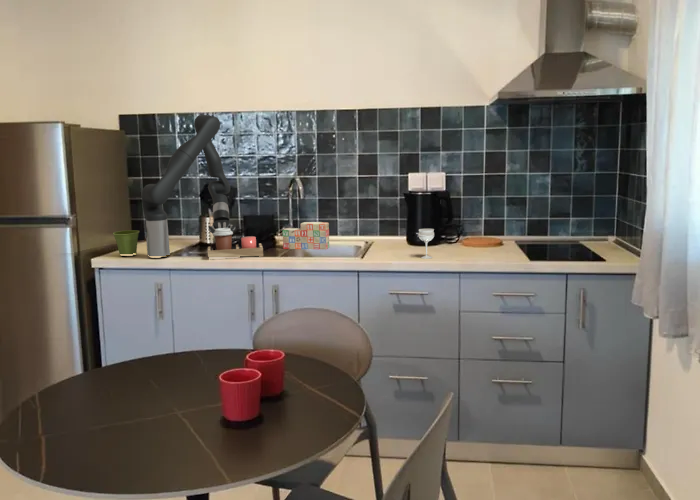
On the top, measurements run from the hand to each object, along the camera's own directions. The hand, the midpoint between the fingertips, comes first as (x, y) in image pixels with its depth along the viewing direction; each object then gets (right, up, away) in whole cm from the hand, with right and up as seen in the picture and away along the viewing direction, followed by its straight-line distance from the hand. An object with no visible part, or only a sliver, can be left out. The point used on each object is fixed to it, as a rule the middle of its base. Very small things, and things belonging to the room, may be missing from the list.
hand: (223, 243), depth 305 cm
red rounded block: (+13, -5, -5) cm, 15 cm away
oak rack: (+7, -6, -7) cm, 11 cm away
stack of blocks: (+38, -3, +8) cm, 39 cm away
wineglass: (+91, -7, -25) cm, 95 cm away
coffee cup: (+1, -6, -4) cm, 7 cm away
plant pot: (-44, -6, +1) cm, 45 cm away
